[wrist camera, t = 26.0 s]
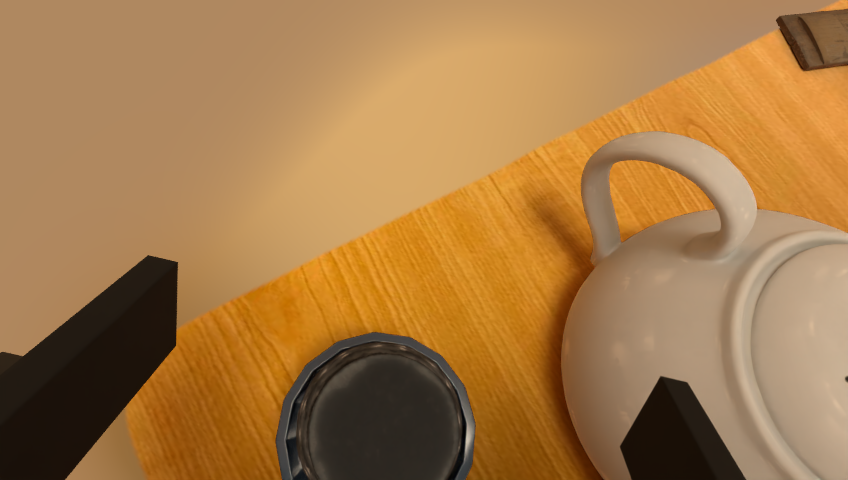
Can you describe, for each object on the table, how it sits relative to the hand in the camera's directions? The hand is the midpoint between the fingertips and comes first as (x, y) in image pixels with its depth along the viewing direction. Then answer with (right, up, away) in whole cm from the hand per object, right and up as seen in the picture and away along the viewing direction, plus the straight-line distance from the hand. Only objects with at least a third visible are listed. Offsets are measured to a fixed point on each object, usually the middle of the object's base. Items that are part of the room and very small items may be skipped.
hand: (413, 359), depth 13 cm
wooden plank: (+37, +17, +25) cm, 48 cm away
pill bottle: (-2, -6, +12) cm, 14 cm away
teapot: (+15, -5, +16) cm, 22 cm away
